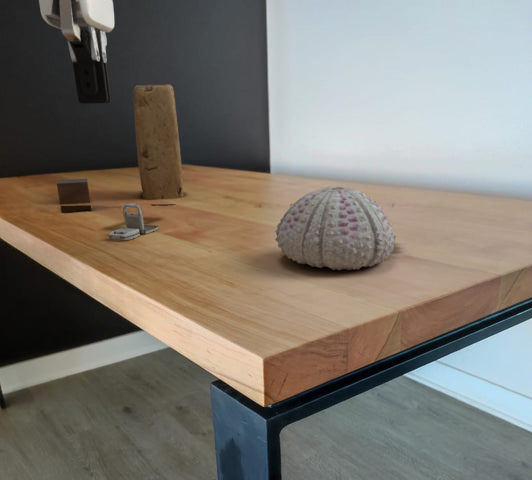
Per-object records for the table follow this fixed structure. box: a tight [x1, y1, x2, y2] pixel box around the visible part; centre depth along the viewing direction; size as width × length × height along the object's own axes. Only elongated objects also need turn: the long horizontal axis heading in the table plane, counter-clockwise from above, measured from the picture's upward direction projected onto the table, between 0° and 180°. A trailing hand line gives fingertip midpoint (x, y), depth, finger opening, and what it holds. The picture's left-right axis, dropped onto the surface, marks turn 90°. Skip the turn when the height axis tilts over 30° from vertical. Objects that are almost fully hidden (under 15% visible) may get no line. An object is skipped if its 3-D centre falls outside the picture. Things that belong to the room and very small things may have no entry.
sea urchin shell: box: [274, 186, 397, 271], centre depth 60 cm, size 13×14×8 cm
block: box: [132, 83, 184, 207], centre depth 98 cm, size 11×8×20 cm
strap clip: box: [108, 203, 160, 241], centre depth 76 cm, size 8×3×4 cm, turn 157°
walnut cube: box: [56, 178, 93, 214], centre depth 95 cm, size 5×5×5 cm
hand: (95, 102), depth 60 cm, fingers closed
